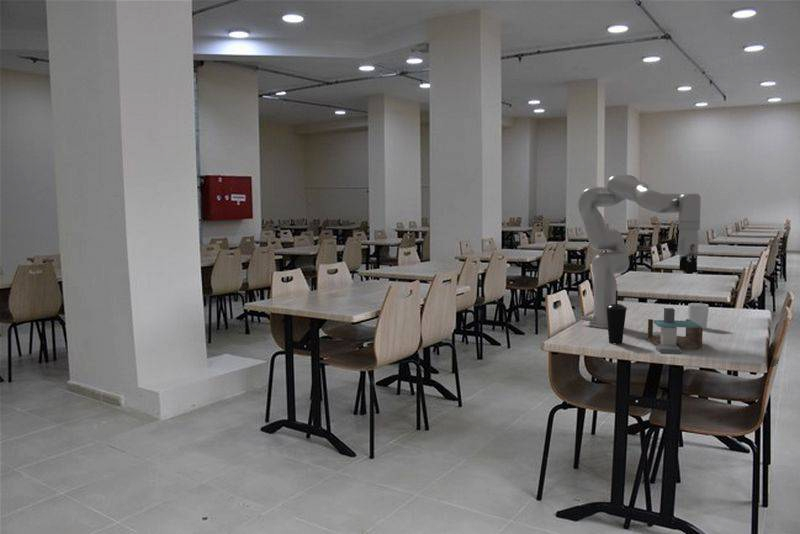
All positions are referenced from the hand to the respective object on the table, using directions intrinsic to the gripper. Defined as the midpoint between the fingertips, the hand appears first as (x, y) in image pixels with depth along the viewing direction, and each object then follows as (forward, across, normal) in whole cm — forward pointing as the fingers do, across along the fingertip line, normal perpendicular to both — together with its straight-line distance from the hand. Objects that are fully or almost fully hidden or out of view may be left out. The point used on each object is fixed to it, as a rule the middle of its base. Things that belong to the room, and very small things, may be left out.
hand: (687, 271), depth 253 cm
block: (+27, +12, -10) cm, 31 cm away
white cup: (+27, -26, +13) cm, 40 cm away
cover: (+19, +12, -8) cm, 24 cm away
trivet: (+27, +20, -12) cm, 36 cm away
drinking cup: (+27, +7, -28) cm, 39 cm away
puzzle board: (+27, +7, -7) cm, 28 cm away
